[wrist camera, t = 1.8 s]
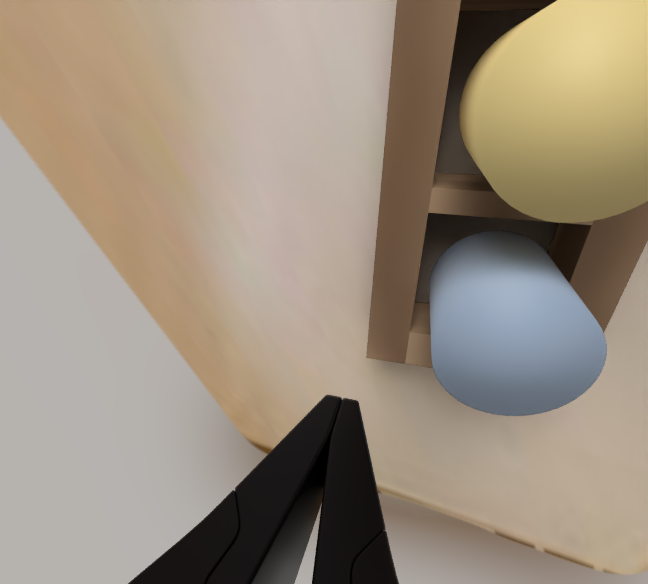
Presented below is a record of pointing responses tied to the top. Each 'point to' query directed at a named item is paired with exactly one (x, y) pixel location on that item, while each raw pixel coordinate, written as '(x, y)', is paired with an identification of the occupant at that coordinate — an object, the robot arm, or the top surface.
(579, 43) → the button ochre
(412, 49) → the wooden compartment tray
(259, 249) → the top surface
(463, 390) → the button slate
